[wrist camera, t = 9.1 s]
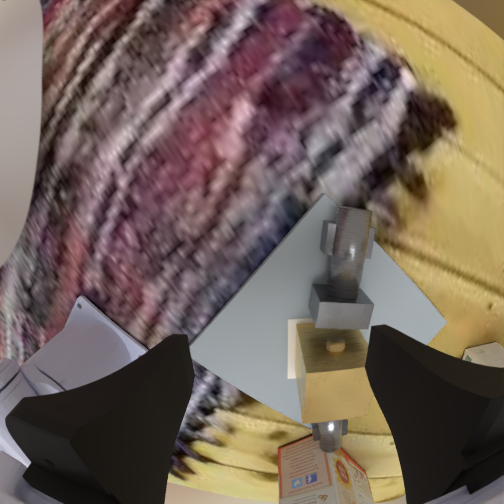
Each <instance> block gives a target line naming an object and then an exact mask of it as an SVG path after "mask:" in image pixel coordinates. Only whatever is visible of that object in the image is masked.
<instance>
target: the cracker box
mask: <svg viewBox="0 0 504 504" xmlns="http://www.w3.org/2000/svg"><path fill="white" fill-rule="evenodd" d="M278 475H279V476H278V479H279V504H374V500H373V496H372V492H371V489H370V485H369V481H368V477H367V474H366V472H365V471H364V470H363V469H362V468H361V467H360V466H359V465H358V464H357V463H356V462H355V461H353V460H352V459H351V458H350V457H349V456H348V455H347V454H346V453H345V452H344V451H343V450H342V449H341V448H340V449H339V450H337V451H335V452H332V453H327V452H324V451H322V450H321V449H320V447H319V440H317V441H314V440H313V435H312V436H309V437H307V438H304V439H302V440H300V441H297V442H294V443H292V444H289V445H287V446H284V447H281V448H278Z"/></svg>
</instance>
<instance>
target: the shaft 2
mask: <svg viewBox="0 0 504 504" xmlns="http://www.w3.org/2000/svg"><path fill="white" fill-rule="evenodd" d="M347 426H348V421H347V419H343V420H336V421H328V422H319V423H311V428H312V434H313V440H314V441H317V440H319V447H320V449H321V450H322V451H324V452H327V453H332V452H335V451H337V450H339V449H340V447H341V446H342V435H346V434H347Z"/></svg>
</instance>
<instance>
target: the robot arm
mask: <svg viewBox="0 0 504 504" xmlns="http://www.w3.org/2000/svg"><path fill="white" fill-rule="evenodd" d="M80 304H81V306H82V307H81V306H80ZM140 355H141V356H140ZM365 370H366V374H367V377H368V380H369V384H370V387H371V389H372V391H373V393H374V395H375V398H376V400H377V402H378V404H379V406H380V408H381V410H382V412H383V414H384V417H385V419H386V421H387V423H388V425H389V428H390V430H391V433H392V435H393V439H394V442H395V446H396V449H397V453H398V457H399V461H400V465H401V470H402V475H403V480H404V486H405V493H406V502H407V504H504V368H500V367H492V366H486V365H481V364H477V363H472V362H469V361H465V360H462V359H459V358H456V357H453V356H450V355H448V354H445V353H443V352H440V351H438V350H436V349H434V348H431V347H429V346H427V345H425V344H423V343H421V342H419V341H417V340H415V339H414V338H412V337H410V336H408V335H406V334H404V333H402V332H400V331H399V330H397V329H395V328H393V327H390V326H388V325H386V324H383V325H375V326H371V331H370V338H369V344H368V351H367V357H366V362H365ZM194 377H195V374H194V369H193V364H192V359H191V353H190V348H189V342H188V336H187V335H182V334H172V335H170V336H169V337H167V338H166V339H164V340H163V341H161V342H160V343H159V344H157V345H156V346H155V347H153V348H152V349H150V350H148V349H147V348H145V347H144V346H143V345H141V344H140V343H139V342H137V341H136V340H135V339H134V338H132V337H131V336H130V335H129V334H127V333H126V332H125V331H124V330H122V329H121V328H120V327H119V326H118V325H116V324H115V323H114V322H113V321H112V320H110V319H109V318H108V317H107V316H106V315H105V314H103V313H102V312H101V311H100V310H99V309H98V308H97V307H96V306H94V305H93V304H92V303H91V302H90V301H89V300H88V299H87V298H86V297H84V296H79V297H78V298H77V300H76V302H75V305H74V307H73V309H72V311H71V313H70V315H69V317H68V320H67V322H66V324H65V326H64V329H62V330H61V331H60V332H59V333H58V334H57V335H55V336H54V337H53V338H52V339H51V340H50V341H48V342H47V343H46V344H45V345H44V346H43V347H42V348H40V349H39V350H38V351H37V352H36V353H35V354H34V355H33V356H32V357H30V358H29V359H28V360H27V361H26V362H25V363H24V364H23V365H21V366H20V365H19V364H18V362H17V361H16V360H15V359H12V360H11V359H9V358H3V359H1V360H0V504H164V502H165V494H166V486H167V479H168V473H169V468H170V462H171V457H172V452H173V448H174V444H175V440H176V437H177V434H178V431H179V429H180V426H181V423H182V420H183V417H184V415H185V412H186V409H187V406H188V403H189V400H190V397H191V393H192V388H193V383H194Z"/></svg>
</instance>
